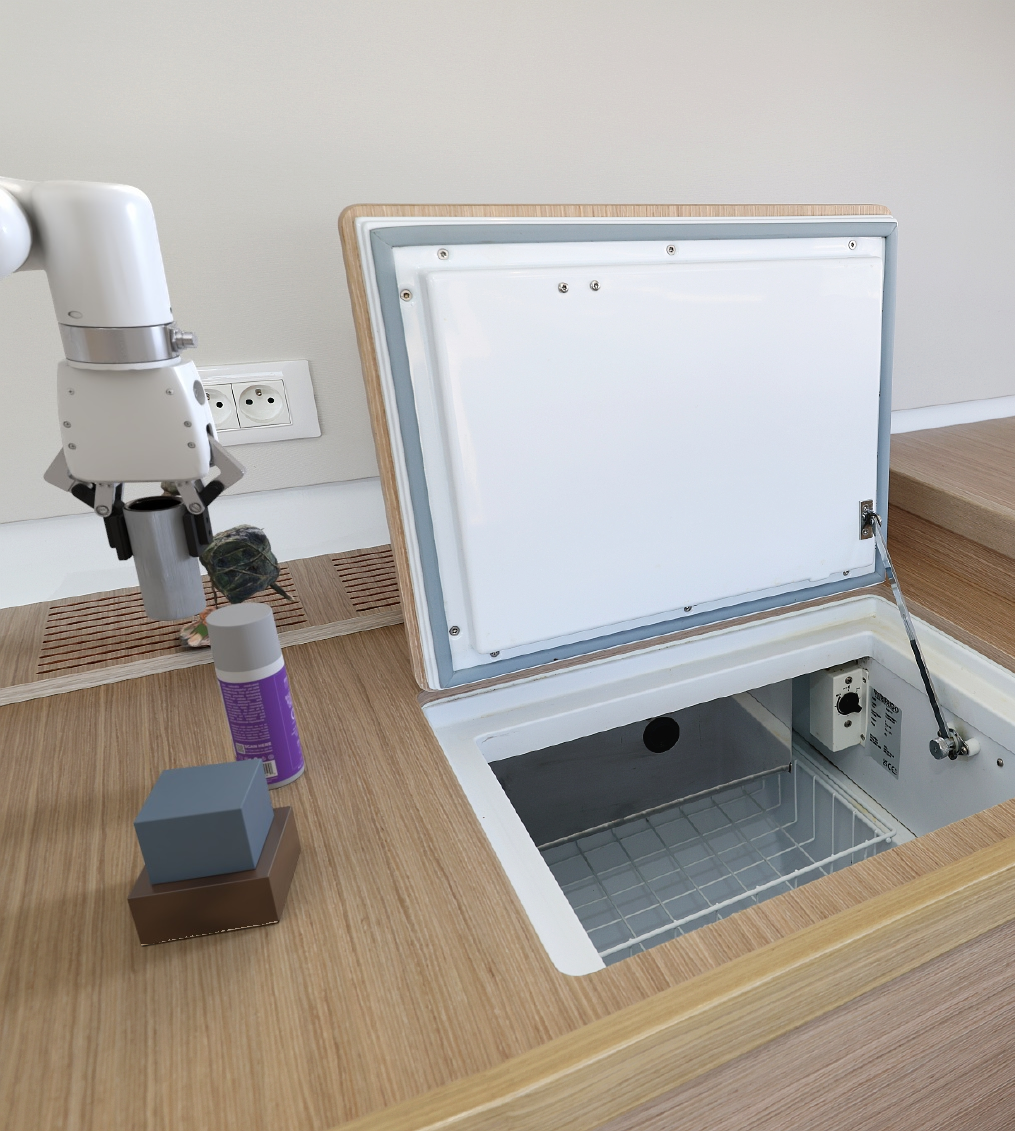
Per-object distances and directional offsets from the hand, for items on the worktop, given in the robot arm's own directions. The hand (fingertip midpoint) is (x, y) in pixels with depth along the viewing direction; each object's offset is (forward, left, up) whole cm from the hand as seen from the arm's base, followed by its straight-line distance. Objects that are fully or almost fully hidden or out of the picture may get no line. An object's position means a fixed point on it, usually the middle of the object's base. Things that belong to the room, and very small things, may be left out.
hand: (164, 551), depth 83 cm
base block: (+9, -29, -16) cm, 34 cm away
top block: (+9, -29, -12) cm, 32 cm away
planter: (0, 0, -6) cm, 6 cm away
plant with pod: (0, +16, -16) cm, 23 cm away
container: (+9, -14, -16) cm, 23 cm away
